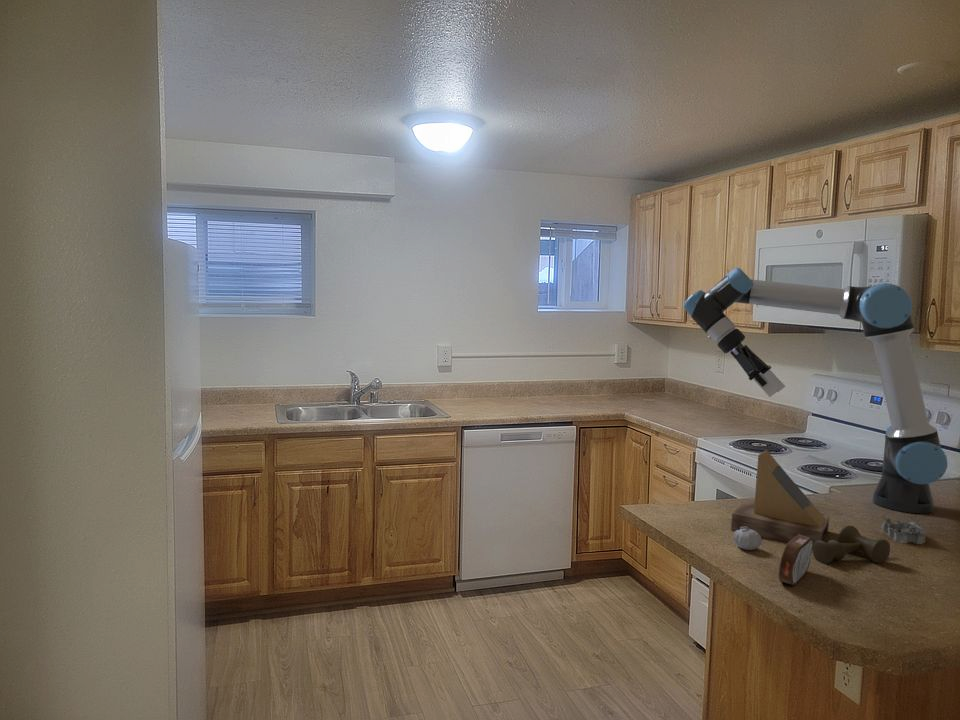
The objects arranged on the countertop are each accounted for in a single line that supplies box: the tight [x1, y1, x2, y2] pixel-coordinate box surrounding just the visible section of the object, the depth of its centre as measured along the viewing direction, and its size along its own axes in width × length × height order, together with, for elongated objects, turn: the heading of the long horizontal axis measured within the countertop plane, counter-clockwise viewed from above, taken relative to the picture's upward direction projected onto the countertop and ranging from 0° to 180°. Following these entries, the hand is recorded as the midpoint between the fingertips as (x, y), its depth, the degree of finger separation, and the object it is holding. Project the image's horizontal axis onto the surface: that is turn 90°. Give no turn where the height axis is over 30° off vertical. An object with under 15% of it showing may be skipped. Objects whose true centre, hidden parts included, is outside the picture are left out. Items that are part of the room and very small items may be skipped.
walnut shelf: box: [730, 499, 830, 548], centre depth 171 cm, size 20×16×4 cm
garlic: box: [733, 526, 762, 551], centre depth 158 cm, size 6×5×5 cm
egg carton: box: [881, 514, 928, 546], centre depth 171 cm, size 11×8×4 cm
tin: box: [778, 534, 813, 586], centre depth 141 cm, size 15×3×8 cm, turn 140°
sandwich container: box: [754, 449, 825, 527], centre depth 169 cm, size 9×15×15 cm, turn 55°
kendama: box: [812, 525, 891, 565], centre depth 155 cm, size 6×10×20 cm
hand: (778, 391), depth 195 cm, fingers open, 13 cm apart
